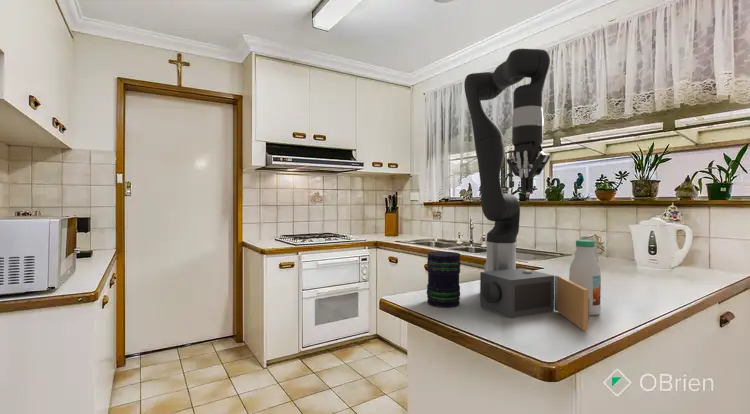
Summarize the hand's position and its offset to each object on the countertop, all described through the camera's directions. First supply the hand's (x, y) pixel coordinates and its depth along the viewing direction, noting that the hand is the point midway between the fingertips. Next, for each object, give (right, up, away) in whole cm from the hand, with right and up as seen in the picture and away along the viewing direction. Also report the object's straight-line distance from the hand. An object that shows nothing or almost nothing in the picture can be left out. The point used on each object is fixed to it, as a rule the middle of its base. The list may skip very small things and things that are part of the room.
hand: (526, 192), depth 100 cm
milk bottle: (+18, -33, +6) cm, 38 cm away
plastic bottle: (+24, -33, +15) cm, 44 cm away
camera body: (0, -33, +8) cm, 34 cm away
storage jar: (-19, -33, +14) cm, 41 cm away
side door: (+10, -33, -2) cm, 34 cm away
